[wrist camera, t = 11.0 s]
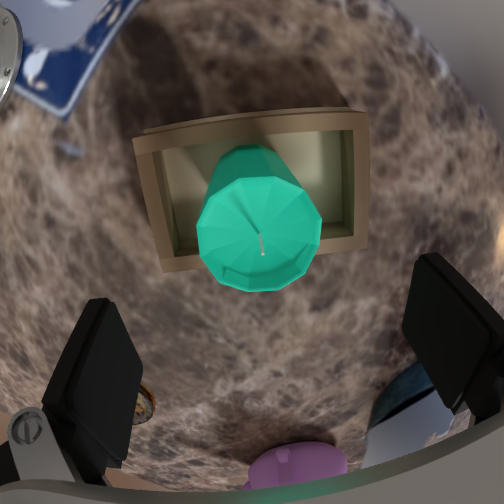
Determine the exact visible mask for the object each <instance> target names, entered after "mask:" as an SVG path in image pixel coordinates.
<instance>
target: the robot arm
mask: <svg viewBox="0 0 504 504" xmlns="http://www.w3.org/2000/svg"><path fill="white" fill-rule="evenodd" d="M22 51H23V35H22V28H21V25H20V21H19V19H18V18H17V16H16V15H15V14H14V13H13V12H12V11H11V10H8V9H5V8H2V7H0V108H1V107H2V105H3V104H4V102H5V101H6V99H7V97H8V95H9V93H10V91H11V89H12V87H13V85H14V82H15V79H16V77H17V74H18V70H19V66H20V63H21V57H22ZM402 331H403V334H404V336H405V337H406V339H407V341H408V342H409V344H410V346H411V347H412V349H413V351H414V352H415V354H416V356H417V357H418V359H419V361H420V362H421V364H422V366H423V367H424V369H425V371H426V373H427V374H428V376H429V378H430V380H431V381H432V383H433V385H434V387H435V389H436V390H437V392H438V394H439V396H440V398H441V399H442V401H443V403H444V405H445V406H446V407H447V408H450V409H451V411H452V413H453V414H454V415H457V414H459V413H461V412H463V411H465V410H467V409H468V407H469V409H470V411H471V416H470V421H469V426H468V429H466V430H464V431H462V432H460V433H458V434H456V435H454V436H452V437H449V438H447V439H445V440H443V441H440V442H438V443H436V444H433V445H431V446H428V447H426V448H423V449H421V450H419V451H416V452H413V453H410V454H408V455H405V456H402V457H399V458H396V459H393V460H390V461H387V462H384V463H381V464H378V465H374V466H371V467H368V468H365V469H361V470H357V471H353V472H349V473H345V474H341V475H337V476H333V477H328V478H323V479H319V480H314V481H308V482H303V483H297V484H291V485H284V486H277V487H269V488H261V489H251V490H239V491H222V492H162V491H147V490H134V489H123V488H114V487H112V485H111V484H110V482H109V481H108V479H107V478H106V476H105V470H106V467H109V468H118V469H121V465H122V460H126V458H127V454H128V448H129V442H130V436H131V430H132V424H133V419H134V413H135V408H136V403H137V398H138V393H139V388H140V383H141V378H142V374H143V365H142V362H141V360H140V358H139V356H138V353H137V351H136V349H135V347H134V345H133V343H132V341H131V339H130V337H129V334H128V332H127V330H126V328H125V325H124V323H123V321H122V319H121V316H120V314H119V312H118V309H117V307H116V305H115V303H114V302H110V300H109V299H108V298H98V299H90V300H89V301H88V303H87V304H86V306H85V308H84V310H83V312H82V314H81V316H80V318H79V320H78V322H77V324H76V326H75V328H74V330H73V332H72V334H71V336H70V338H69V340H68V342H67V344H66V346H65V348H64V350H63V352H62V355H61V357H60V359H59V361H58V363H57V366H56V368H55V370H54V372H53V375H52V377H51V379H50V381H49V384H48V386H47V389H46V391H45V393H44V396H43V398H42V401H41V402H42V404H43V408H42V410H40V409H39V408H36V407H27V408H24V409H22V410H20V411H19V412H18V413H16V414H15V415H14V417H13V418H12V419H11V421H10V423H9V425H8V431H7V434H8V441H6V442H5V443H3V444H2V445H0V504H504V320H503V318H502V317H501V316H500V315H499V314H498V313H497V312H496V311H495V310H494V308H493V307H492V306H491V305H490V304H489V303H488V302H487V301H486V300H485V299H484V298H483V297H482V296H481V295H480V294H479V293H478V291H477V290H476V289H475V288H474V287H473V286H472V285H471V284H470V283H469V282H468V281H467V280H466V279H465V278H464V277H463V276H462V275H461V274H460V273H459V272H458V271H457V270H456V269H455V268H454V267H453V266H451V265H450V264H449V263H448V262H447V261H446V260H445V259H444V258H443V257H442V256H441V255H440V254H439V253H437V252H433V253H427V254H422V255H420V256H419V258H418V260H416V262H415V264H414V269H413V275H412V280H411V285H410V291H409V295H408V300H407V305H406V309H405V314H404V318H403V322H402Z"/></svg>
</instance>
